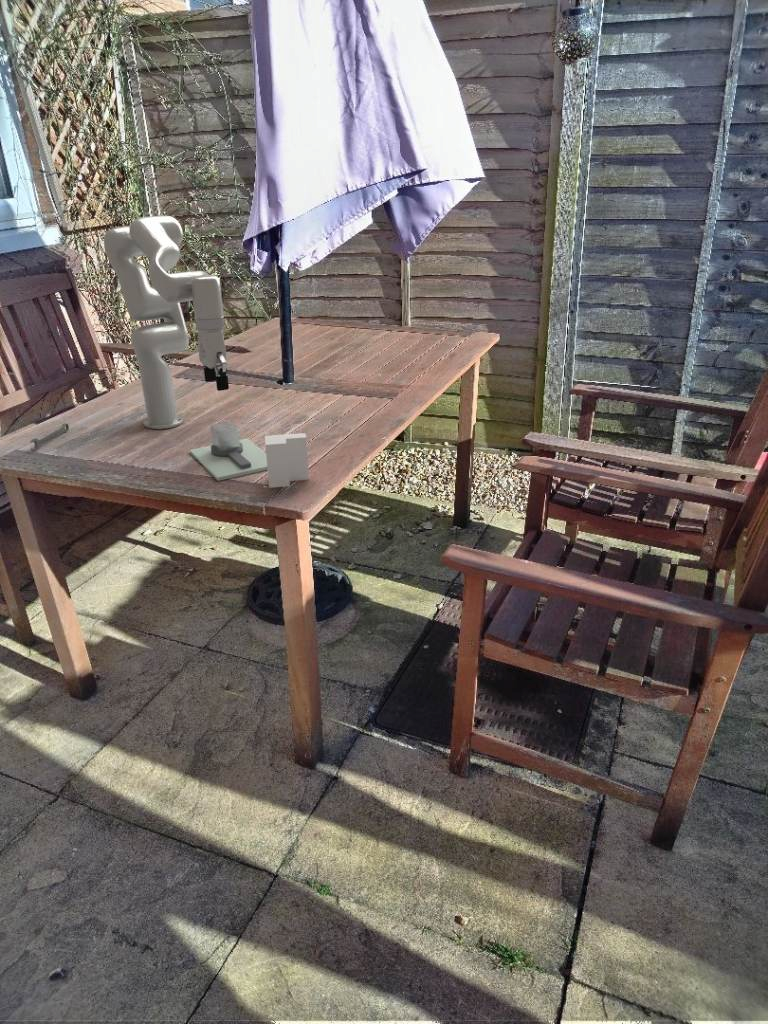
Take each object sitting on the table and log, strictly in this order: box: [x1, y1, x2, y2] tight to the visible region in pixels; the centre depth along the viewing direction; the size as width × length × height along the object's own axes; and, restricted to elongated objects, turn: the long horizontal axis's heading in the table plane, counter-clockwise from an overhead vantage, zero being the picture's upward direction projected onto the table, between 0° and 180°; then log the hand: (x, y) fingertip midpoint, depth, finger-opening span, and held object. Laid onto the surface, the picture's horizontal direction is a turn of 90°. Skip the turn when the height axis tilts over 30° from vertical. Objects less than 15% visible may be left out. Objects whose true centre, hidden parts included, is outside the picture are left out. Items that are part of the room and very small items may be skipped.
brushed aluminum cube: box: [210, 421, 240, 451], centre depth 203 cm, size 6×6×6 cm
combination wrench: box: [29, 423, 70, 452], centre depth 217 cm, size 4×1×20 cm
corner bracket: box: [264, 432, 310, 488], centre depth 188 cm, size 11×11×12 cm
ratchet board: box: [189, 438, 268, 482], centre depth 201 cm, size 24×18×6 cm
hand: (216, 385), depth 197 cm, fingers open, 9 cm apart
